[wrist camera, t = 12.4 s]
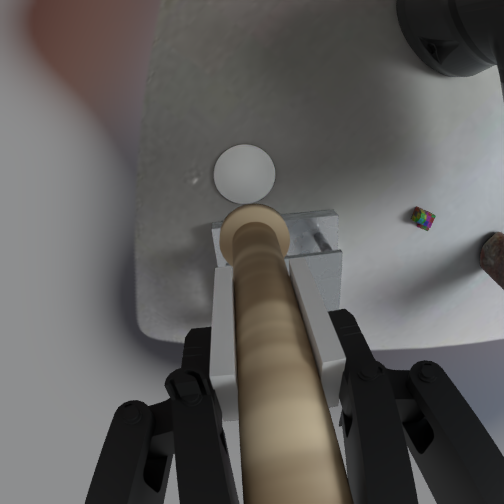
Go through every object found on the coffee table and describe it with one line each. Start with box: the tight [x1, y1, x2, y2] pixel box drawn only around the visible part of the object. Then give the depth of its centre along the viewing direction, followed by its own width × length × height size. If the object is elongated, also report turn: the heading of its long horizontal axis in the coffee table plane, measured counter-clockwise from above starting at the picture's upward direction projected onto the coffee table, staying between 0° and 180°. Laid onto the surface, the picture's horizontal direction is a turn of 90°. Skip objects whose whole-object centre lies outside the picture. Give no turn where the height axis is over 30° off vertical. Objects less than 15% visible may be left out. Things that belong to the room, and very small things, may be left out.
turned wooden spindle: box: [219, 204, 354, 504], centre depth 13 cm, size 4×4×17 cm
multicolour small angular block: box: [411, 206, 435, 231], centre depth 39 cm, size 4×3×2 cm
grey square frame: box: [212, 210, 342, 312], centre depth 38 cm, size 15×15×8 cm
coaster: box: [214, 144, 275, 204], centre depth 35 cm, size 7×7×1 cm
